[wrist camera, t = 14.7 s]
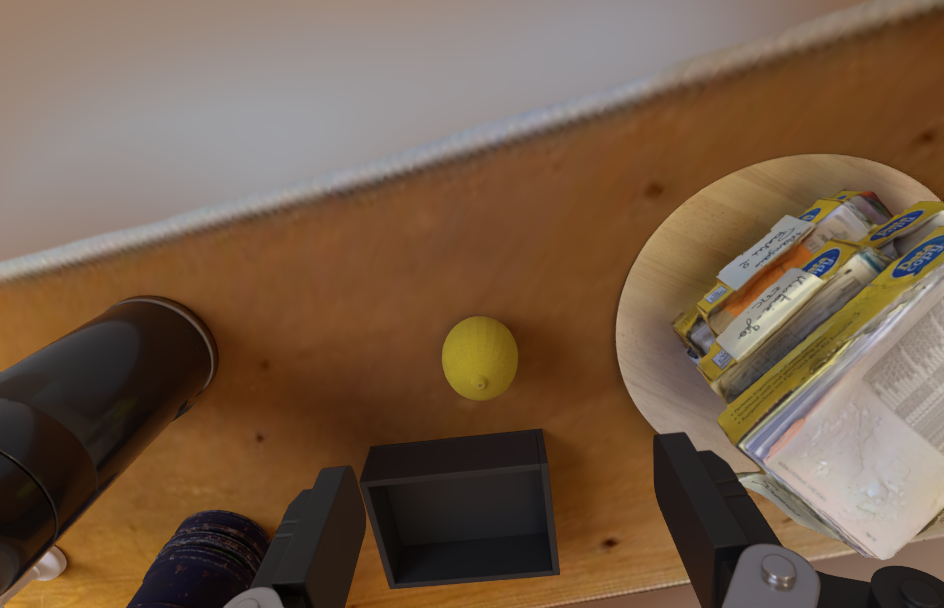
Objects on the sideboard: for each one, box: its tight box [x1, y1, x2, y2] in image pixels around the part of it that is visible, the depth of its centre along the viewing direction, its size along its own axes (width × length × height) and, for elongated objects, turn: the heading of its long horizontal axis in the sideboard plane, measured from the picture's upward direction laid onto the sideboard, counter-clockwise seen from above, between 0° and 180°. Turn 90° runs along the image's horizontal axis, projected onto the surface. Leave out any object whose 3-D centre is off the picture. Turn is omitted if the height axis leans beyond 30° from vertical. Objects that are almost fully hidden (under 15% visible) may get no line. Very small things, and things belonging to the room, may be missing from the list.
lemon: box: [442, 316, 518, 401], centre depth 37 cm, size 6×6×8 cm
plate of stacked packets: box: [616, 154, 944, 560], centre depth 32 cm, size 25×25×17 cm
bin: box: [359, 429, 560, 589], centre depth 45 cm, size 15×12×4 cm
